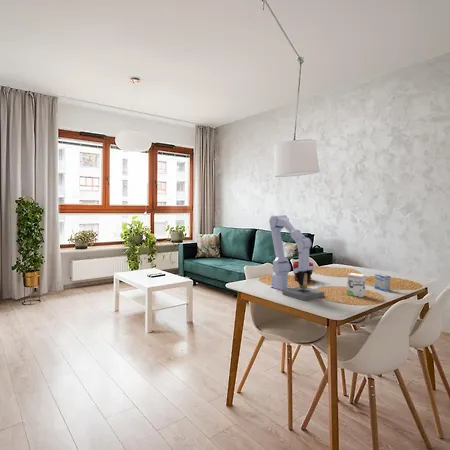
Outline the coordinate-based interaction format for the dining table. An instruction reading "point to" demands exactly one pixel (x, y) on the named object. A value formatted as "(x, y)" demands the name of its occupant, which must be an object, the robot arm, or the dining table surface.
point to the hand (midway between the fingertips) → (303, 284)
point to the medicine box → (382, 282)
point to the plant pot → (296, 265)
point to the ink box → (356, 284)
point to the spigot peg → (304, 282)
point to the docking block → (303, 293)
